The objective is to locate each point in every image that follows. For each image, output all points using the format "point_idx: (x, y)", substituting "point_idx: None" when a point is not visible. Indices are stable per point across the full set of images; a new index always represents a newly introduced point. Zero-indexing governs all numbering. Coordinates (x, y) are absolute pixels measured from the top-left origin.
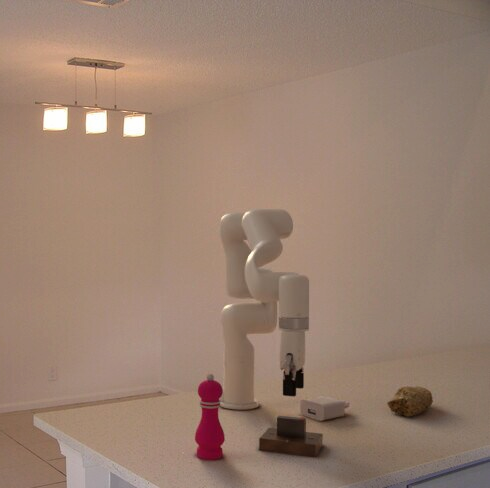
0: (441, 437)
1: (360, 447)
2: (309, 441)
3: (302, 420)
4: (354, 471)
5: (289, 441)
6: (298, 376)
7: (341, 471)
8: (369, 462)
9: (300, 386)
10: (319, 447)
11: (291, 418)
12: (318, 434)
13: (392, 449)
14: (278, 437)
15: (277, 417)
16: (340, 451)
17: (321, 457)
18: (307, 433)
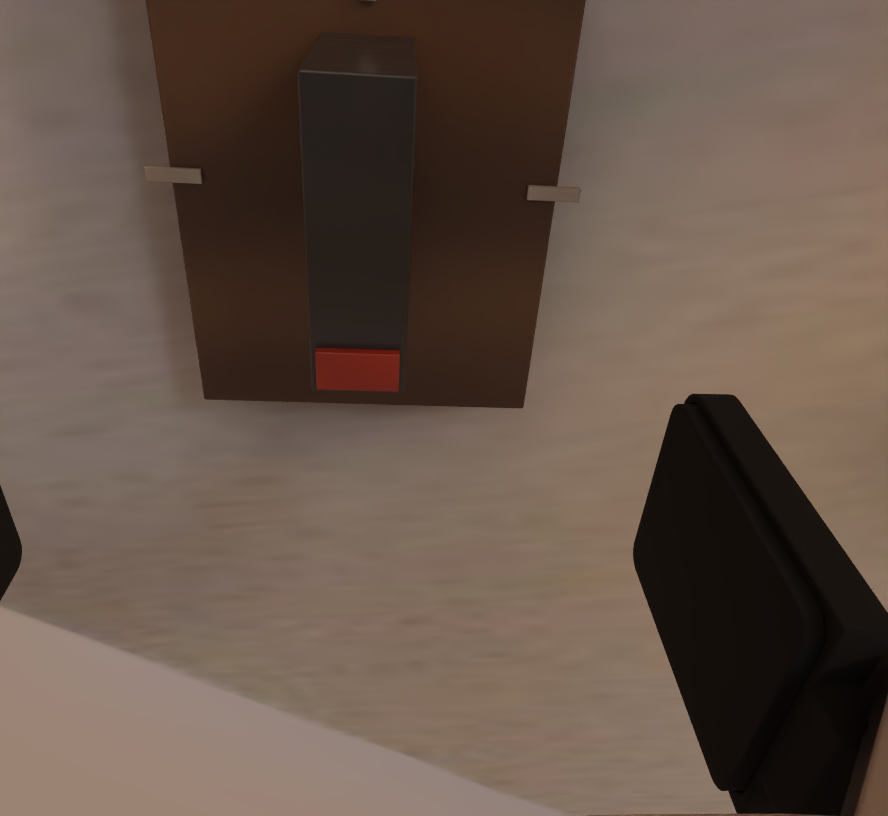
0: None
1: (535, 545)
2: (266, 350)
3: (311, 371)
4: (84, 553)
5: (178, 196)
6: (725, 679)
7: (39, 503)
8: (278, 596)
9: (646, 549)
10: None
11: (334, 257)
12: (489, 386)
13: (543, 658)
14: (257, 65)
15: (301, 78)
16: (416, 466)
17: None
18: (493, 306)
